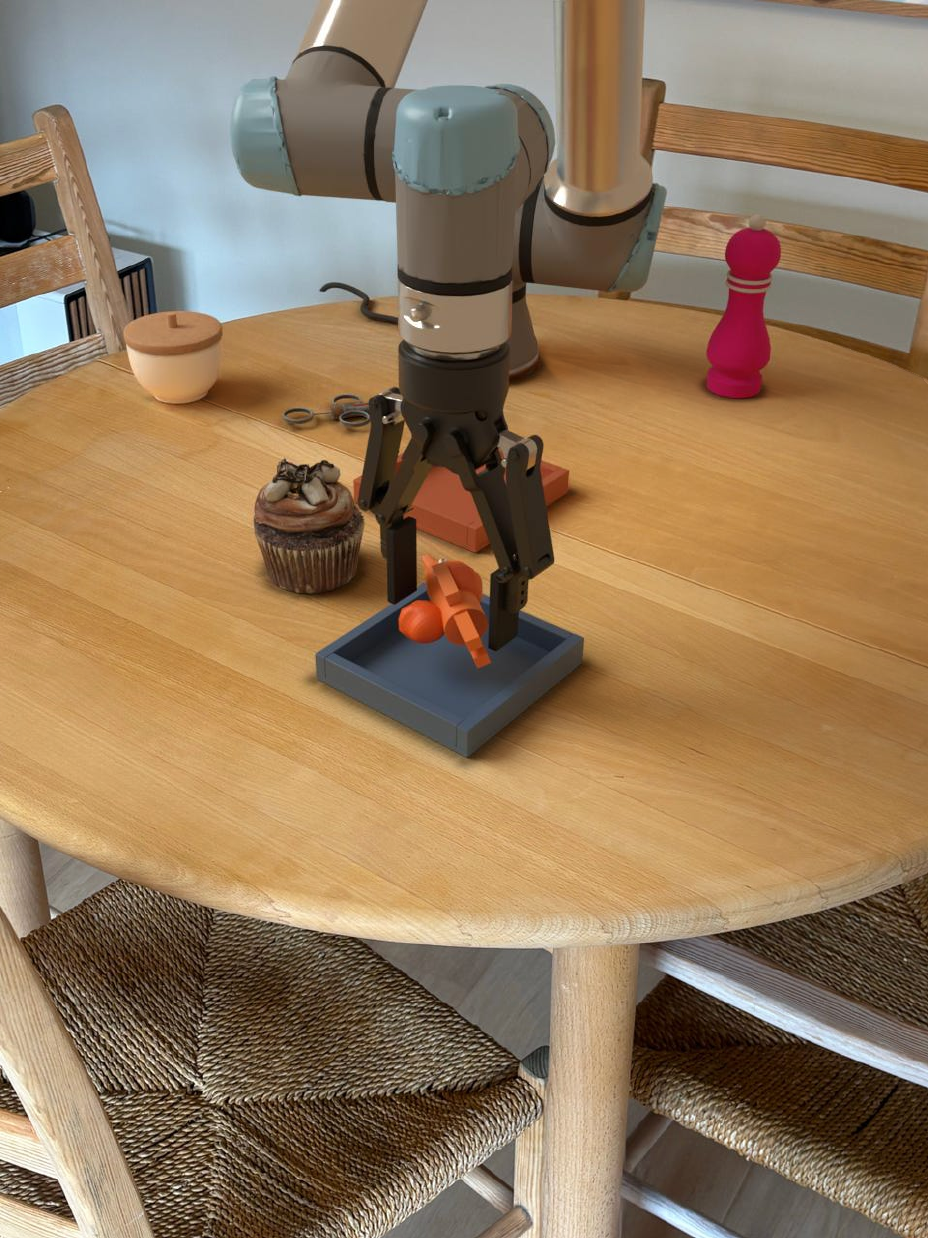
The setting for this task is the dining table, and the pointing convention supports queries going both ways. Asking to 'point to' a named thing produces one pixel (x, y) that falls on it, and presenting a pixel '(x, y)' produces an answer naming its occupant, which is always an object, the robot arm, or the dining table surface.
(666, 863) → the dining table surface
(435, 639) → the orange toy bird
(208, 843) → the dining table surface
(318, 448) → the dining table surface
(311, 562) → the cupcake
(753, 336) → the pepper mill
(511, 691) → the blue tray
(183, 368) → the trinket box
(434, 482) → the terracotta tray
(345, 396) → the syringe
